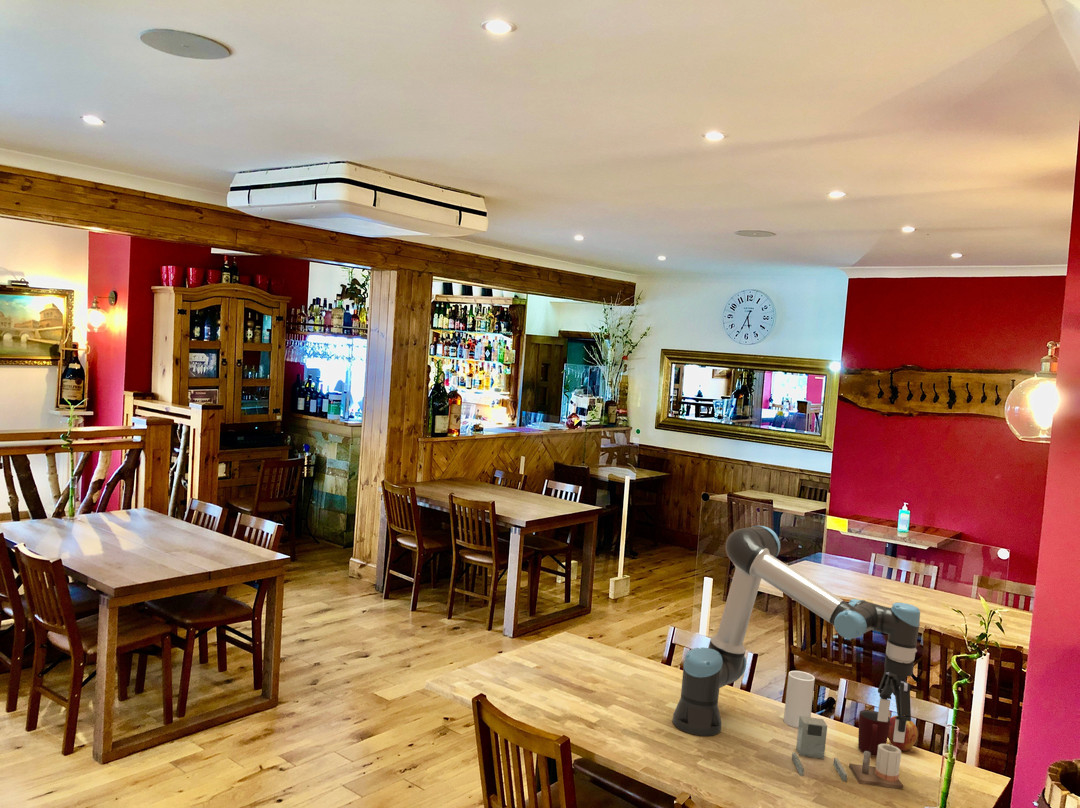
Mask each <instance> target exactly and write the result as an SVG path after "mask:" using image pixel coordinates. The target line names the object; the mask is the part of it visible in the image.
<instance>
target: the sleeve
mask: <svg viewBox="0 0 1080 808" xmlns="http://www.w3.org/2000/svg"><path fill="white" fill-rule="evenodd" d="M901 756H902V750H900V749H899V748H898V747H895V746H893V745H892V744H891V743H890V744H889V743H886V744H879V745H878V751H877V756H876V761H875V766H874V767H875V774H876V775H877V776H878V777H880V778H882V779H884V780H888V781H896V780H898V779H899V780H900V767H901V766H900V765H901V758H902V757H901Z"/></svg>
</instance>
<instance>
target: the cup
mask: <svg viewBox="0 0 1080 808" xmlns="http://www.w3.org/2000/svg"><path fill="white" fill-rule="evenodd" d="M815 681H816V678H815V676H814V675H813V674H811V673H808V672H805V671H802V670H791V671H789V672H788V676H787V685H786V693H785V694H786V695H785V704H784V714H783V722H784V723H785V724H786V725H788V726H789V727H792V728H795V729H798V727H799V718H800V716H803V717H811V716H812V710H813V709H812V707H813V706H812V705H813V699H814V689H815ZM811 718H812V717H811Z"/></svg>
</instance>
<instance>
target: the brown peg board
mask: <svg viewBox="0 0 1080 808" xmlns="http://www.w3.org/2000/svg"><path fill="white" fill-rule="evenodd" d="M871 756H872V755H871V753H870V752H869V751H864V753H863V758H862V764H857V763H849V764H848V765H849V766H848V767H849V769H850V770H851V773H852V774H853V775H854V777H855V779H856V780H857V782H858V783H859V784H863V785H868V786H876V785H877V786H878V787H883V786H885V787H884V788H890V787H893V788H892V789H897V788H903V789H904V788H905V787H904V786H905V785H903V783H902V782H901V780H900V778H899V779H898V780H896V781H888V780H884V779H882V778H880V777H878V776H877V775H876V774H875V767H876V766H871V765H870V763H871V762H870V761H871Z"/></svg>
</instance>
